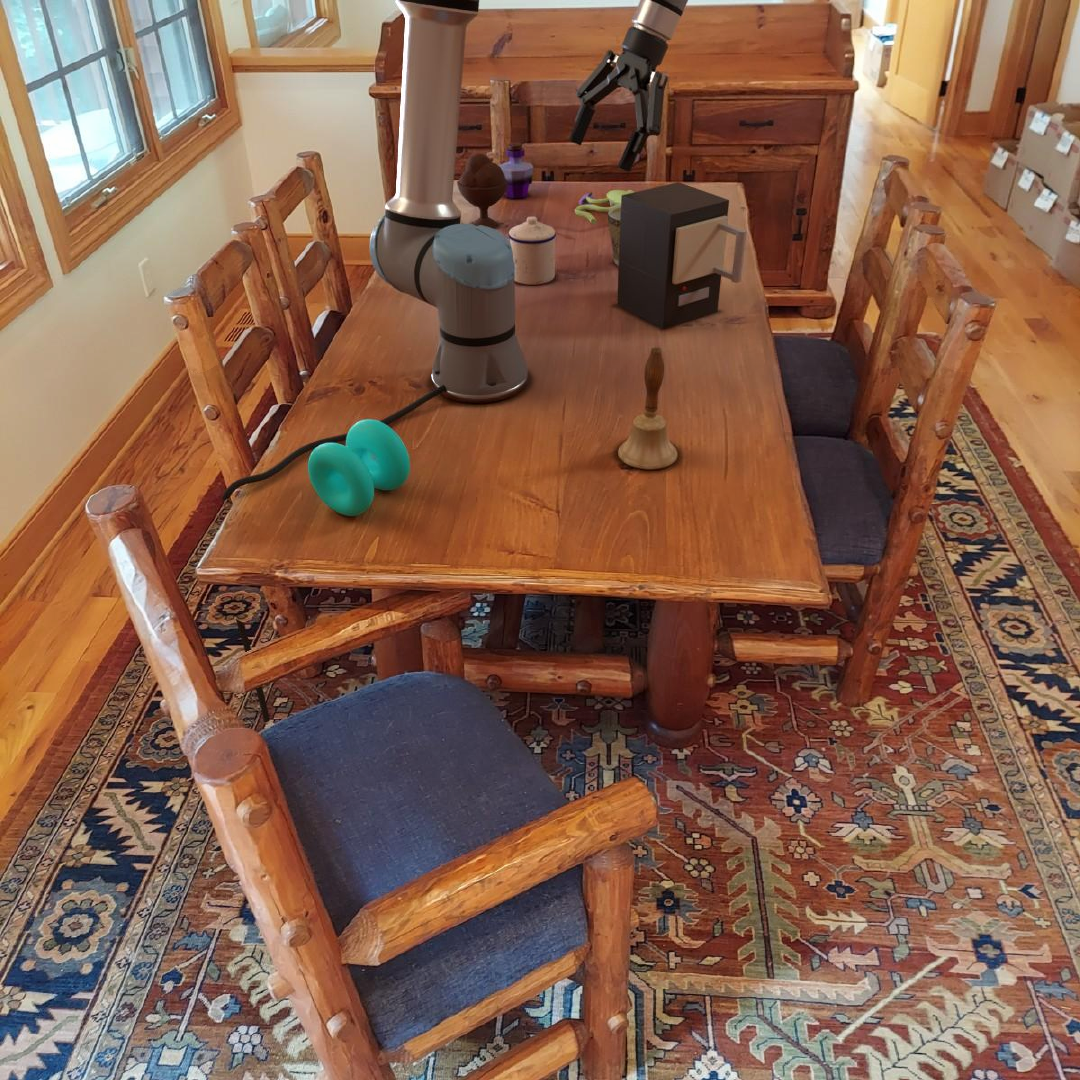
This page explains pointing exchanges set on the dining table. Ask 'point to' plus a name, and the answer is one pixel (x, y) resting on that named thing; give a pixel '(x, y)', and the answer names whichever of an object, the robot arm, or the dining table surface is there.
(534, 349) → the dining table surface
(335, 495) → the teal yo-yo
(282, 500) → the dining table surface
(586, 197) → the figurine
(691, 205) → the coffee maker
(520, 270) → the teacup with lid
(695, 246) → the chamber door
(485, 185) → the ice cream bowl
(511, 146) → the potion bottle
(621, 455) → the hand bell
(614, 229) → the ceramic cup
